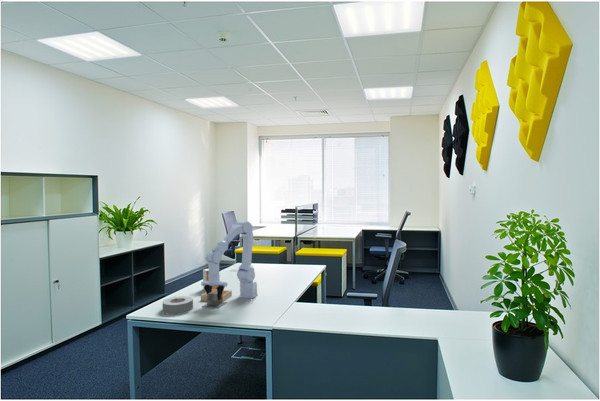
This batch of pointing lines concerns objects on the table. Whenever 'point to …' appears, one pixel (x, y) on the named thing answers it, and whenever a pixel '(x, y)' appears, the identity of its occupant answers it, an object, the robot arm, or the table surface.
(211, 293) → the box
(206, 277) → the small box
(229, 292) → the shallow wooden tray
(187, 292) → the table surface
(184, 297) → the tape roll
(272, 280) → the table surface
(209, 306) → the panel
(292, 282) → the table surface
